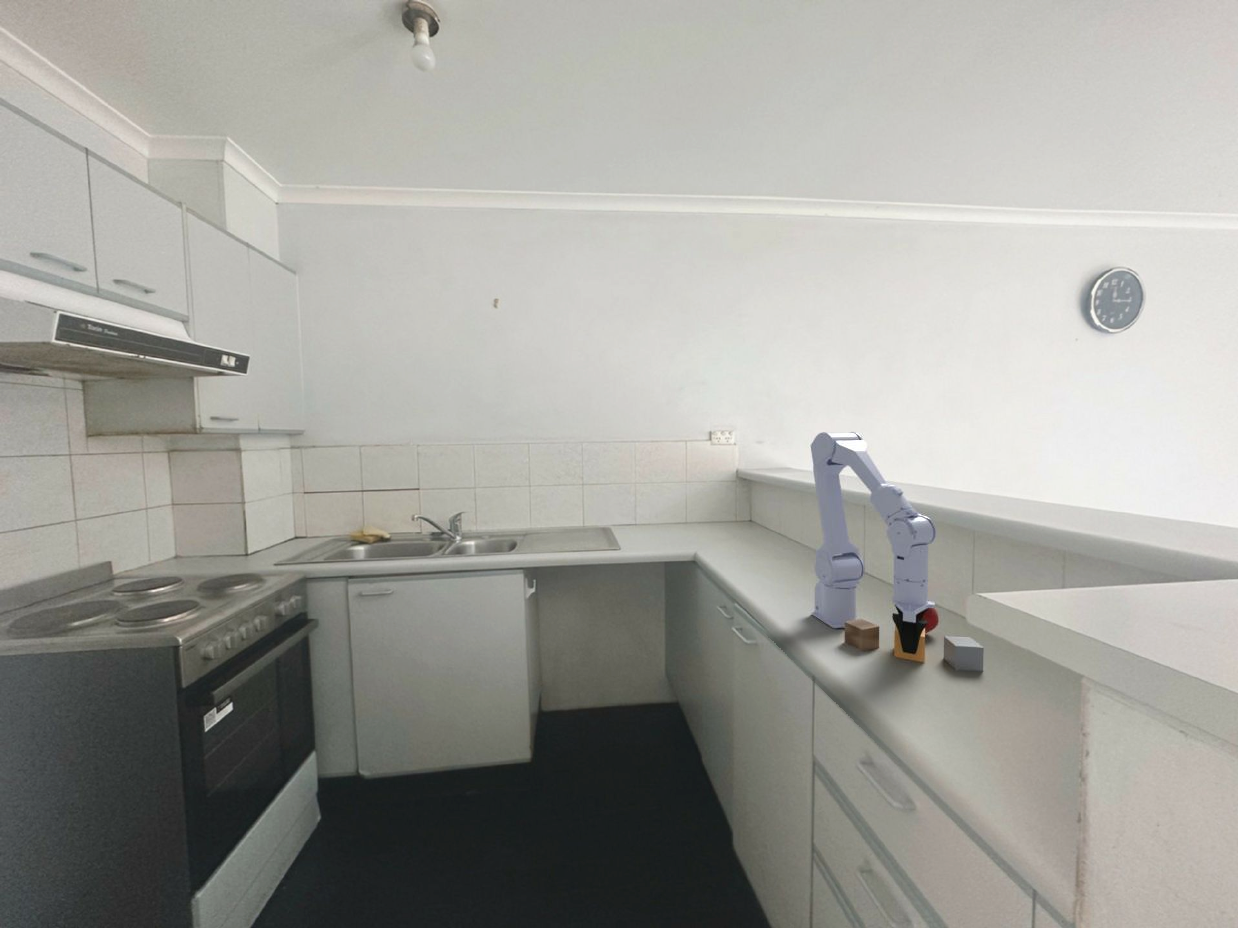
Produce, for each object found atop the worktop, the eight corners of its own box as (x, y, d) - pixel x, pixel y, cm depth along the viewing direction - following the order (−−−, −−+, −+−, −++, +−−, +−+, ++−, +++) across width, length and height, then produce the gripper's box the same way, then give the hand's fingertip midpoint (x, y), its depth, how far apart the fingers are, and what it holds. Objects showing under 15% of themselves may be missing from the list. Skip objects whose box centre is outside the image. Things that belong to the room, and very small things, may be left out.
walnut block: (844, 642, 100) (844, 621, 99) (861, 639, 101) (861, 618, 101) (862, 651, 95) (862, 629, 95) (879, 647, 97) (879, 626, 97)
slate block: (943, 658, 92) (943, 635, 91) (969, 660, 91) (970, 637, 90) (955, 669, 87) (955, 645, 87) (983, 671, 86) (983, 647, 86)
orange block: (895, 647, 97) (895, 623, 97) (924, 652, 94) (925, 627, 94) (894, 656, 93) (894, 631, 93) (924, 662, 90) (925, 636, 90)
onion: (943, 640, 100) (944, 602, 99) (913, 638, 101) (913, 601, 100) (931, 629, 105) (931, 593, 105) (902, 627, 106) (903, 592, 106)
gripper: (935, 591, 85) (934, 665, 85) (934, 571, 97) (933, 637, 97) (890, 585, 88) (889, 656, 89) (894, 567, 101) (893, 630, 101)
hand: (909, 646), depth 93 cm, fingers open, 6 cm apart
